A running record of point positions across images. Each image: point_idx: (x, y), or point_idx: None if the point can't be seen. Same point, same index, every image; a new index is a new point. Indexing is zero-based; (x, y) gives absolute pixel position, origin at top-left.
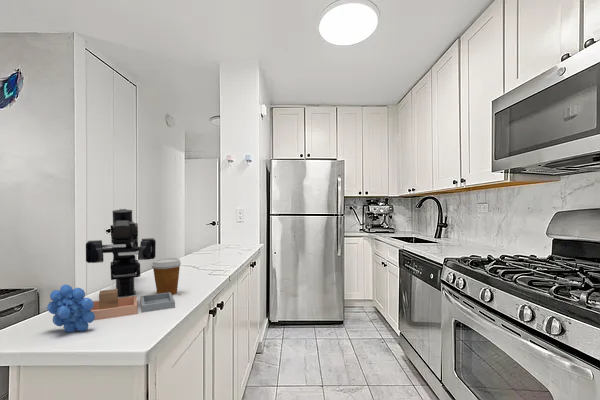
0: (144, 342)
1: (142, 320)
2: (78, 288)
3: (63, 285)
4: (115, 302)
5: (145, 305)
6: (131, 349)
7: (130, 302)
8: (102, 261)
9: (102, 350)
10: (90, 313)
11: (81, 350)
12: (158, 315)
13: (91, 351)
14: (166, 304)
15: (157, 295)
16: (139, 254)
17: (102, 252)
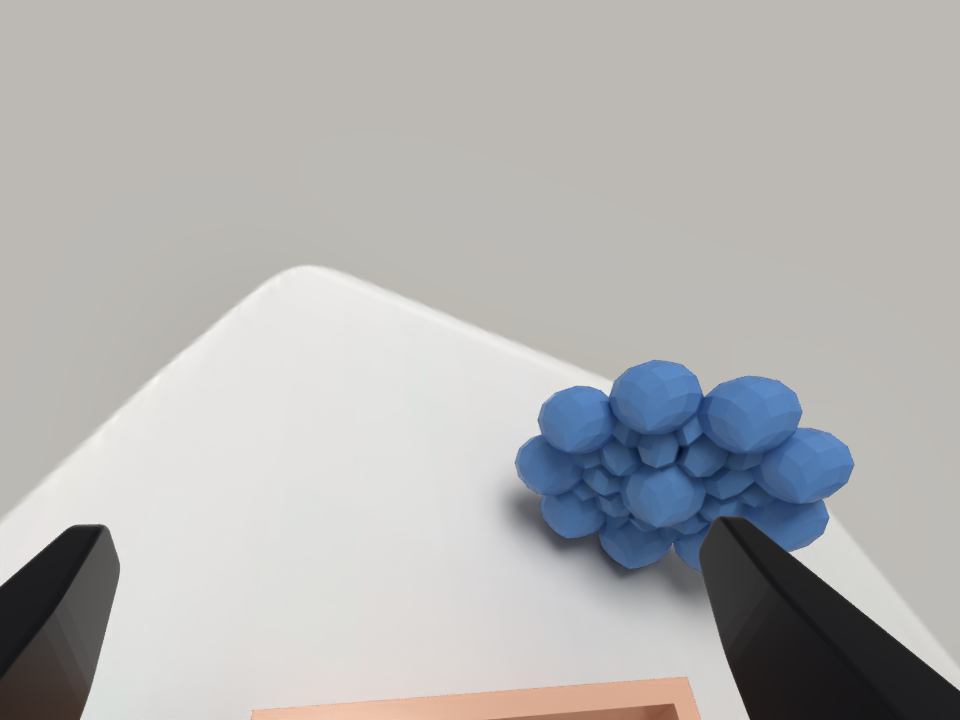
0: (286, 310)
1: (243, 597)
2: (665, 363)
3: (786, 388)
4: None
5: None
6: (336, 282)
7: None
8: (703, 550)
9: (429, 314)
10: (541, 436)
11: (500, 343)
12: (105, 670)
13: (464, 322)
14: None
15: None
16: (42, 568)
17: (890, 693)
